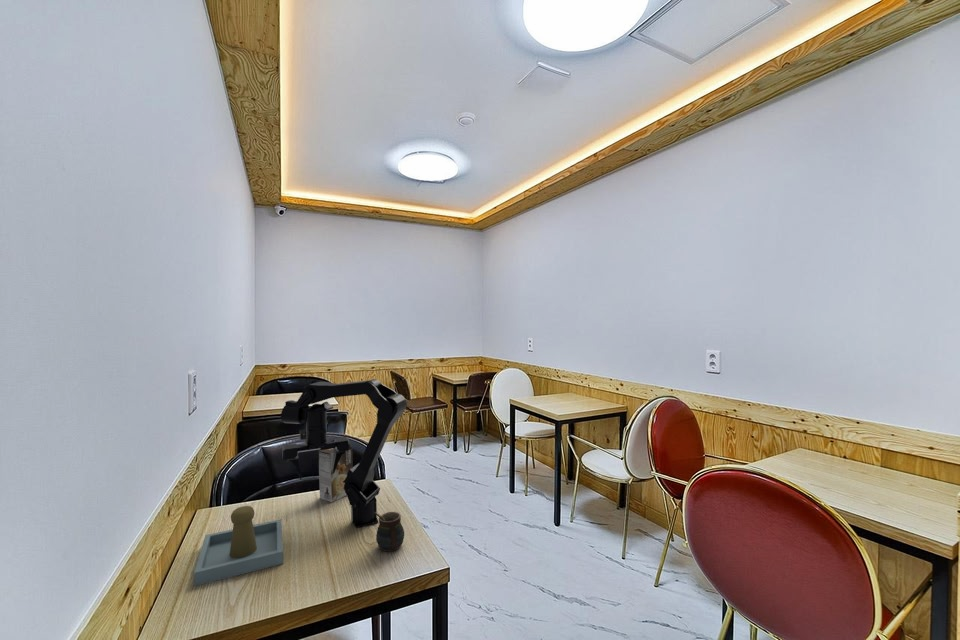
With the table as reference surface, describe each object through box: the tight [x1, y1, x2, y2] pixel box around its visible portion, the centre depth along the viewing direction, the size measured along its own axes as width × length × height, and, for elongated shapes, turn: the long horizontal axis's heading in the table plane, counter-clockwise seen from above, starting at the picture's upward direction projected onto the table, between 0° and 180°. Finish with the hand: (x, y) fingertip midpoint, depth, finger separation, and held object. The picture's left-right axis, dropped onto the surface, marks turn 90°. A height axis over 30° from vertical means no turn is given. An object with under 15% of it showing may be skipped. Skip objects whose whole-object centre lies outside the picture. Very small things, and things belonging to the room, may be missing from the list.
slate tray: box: [193, 518, 284, 587], centre depth 105 cm, size 18×18×3 cm
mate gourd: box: [374, 511, 405, 552], centre depth 108 cm, size 7×8×10 cm
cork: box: [230, 505, 257, 558], centre depth 105 cm, size 6×6×11 cm
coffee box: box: [318, 445, 354, 503], centre depth 139 cm, size 9×6×16 cm
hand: (317, 476), depth 125 cm, fingers open, 9 cm apart
